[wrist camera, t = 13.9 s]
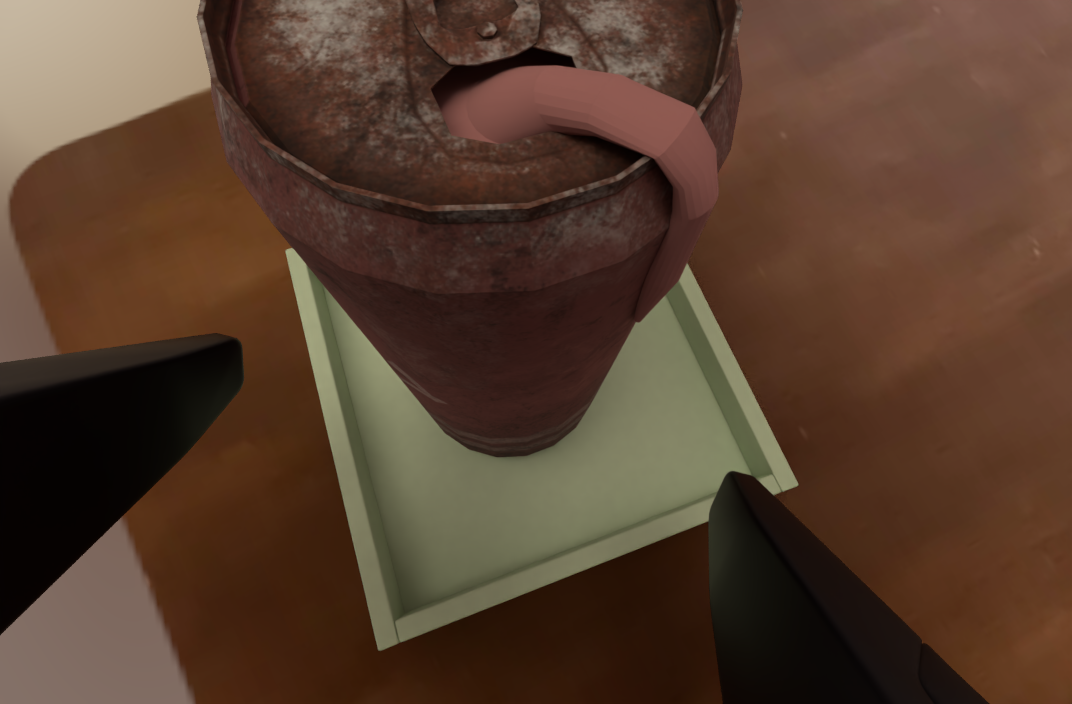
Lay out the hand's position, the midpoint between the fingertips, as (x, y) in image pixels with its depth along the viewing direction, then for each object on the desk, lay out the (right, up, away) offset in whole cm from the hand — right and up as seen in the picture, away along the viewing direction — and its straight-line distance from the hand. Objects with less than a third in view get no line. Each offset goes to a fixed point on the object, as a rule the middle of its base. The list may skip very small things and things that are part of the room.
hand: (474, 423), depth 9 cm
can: (0, 0, +9) cm, 9 cm away
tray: (+1, 0, +10) cm, 10 cm away
